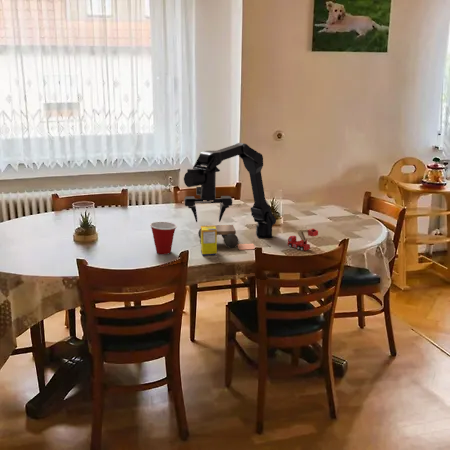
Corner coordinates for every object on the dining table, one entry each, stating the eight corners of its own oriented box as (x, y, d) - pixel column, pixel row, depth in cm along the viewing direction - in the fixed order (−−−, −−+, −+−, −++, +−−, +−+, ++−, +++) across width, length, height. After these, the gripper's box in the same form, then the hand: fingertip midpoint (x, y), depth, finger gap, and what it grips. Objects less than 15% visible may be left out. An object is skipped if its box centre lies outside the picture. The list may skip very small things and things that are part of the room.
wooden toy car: (234, 238, 241) (234, 223, 239) (238, 247, 229) (238, 232, 227) (198, 239, 239) (198, 224, 237) (200, 249, 227) (200, 233, 225)
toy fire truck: (291, 244, 234) (292, 222, 231) (317, 252, 225) (318, 229, 222) (286, 246, 232) (287, 224, 229) (312, 253, 222) (313, 231, 220)
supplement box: (214, 250, 225) (215, 225, 222) (217, 255, 220) (217, 229, 217) (200, 251, 224) (200, 225, 221) (202, 256, 219) (202, 230, 216)
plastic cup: (179, 255, 219) (179, 226, 216) (153, 257, 216) (152, 228, 213) (175, 247, 229) (174, 219, 226) (149, 249, 226) (148, 221, 223)
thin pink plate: (253, 244, 234) (253, 243, 234) (255, 249, 227) (255, 248, 227) (237, 244, 233) (237, 244, 233) (239, 249, 226) (239, 249, 226)
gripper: (229, 179, 223) (228, 216, 227) (183, 179, 221) (184, 217, 225) (232, 185, 212) (232, 223, 217) (184, 185, 210) (185, 224, 215)
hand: (208, 221), depth 219 cm, fingers open, 9 cm apart
